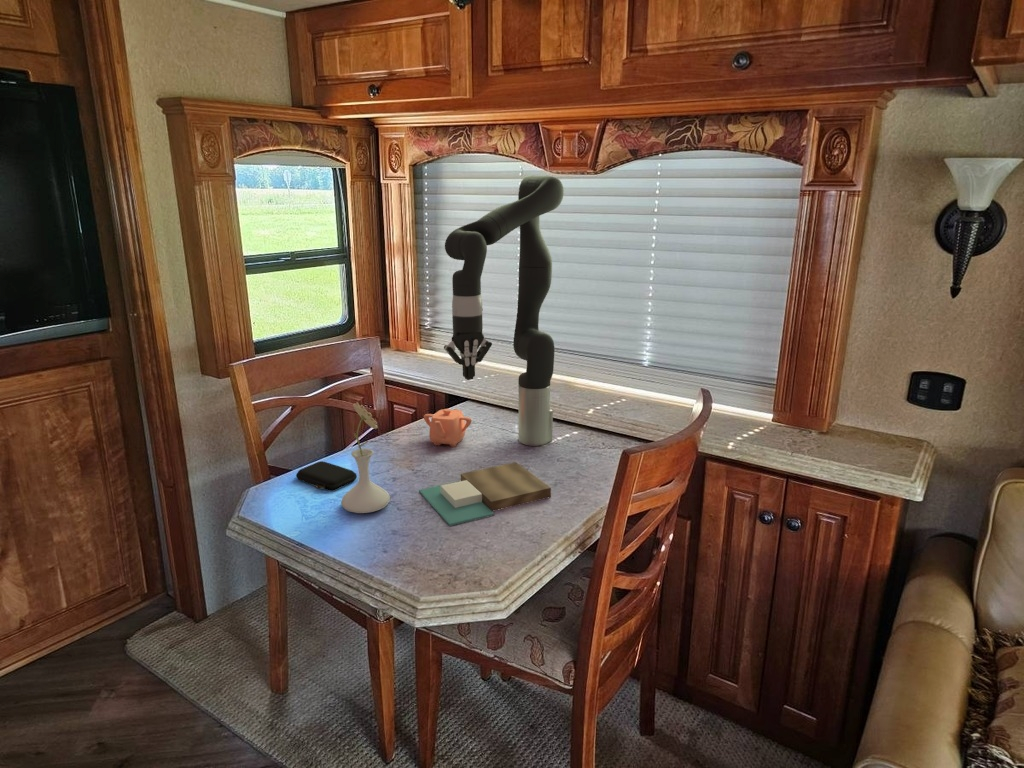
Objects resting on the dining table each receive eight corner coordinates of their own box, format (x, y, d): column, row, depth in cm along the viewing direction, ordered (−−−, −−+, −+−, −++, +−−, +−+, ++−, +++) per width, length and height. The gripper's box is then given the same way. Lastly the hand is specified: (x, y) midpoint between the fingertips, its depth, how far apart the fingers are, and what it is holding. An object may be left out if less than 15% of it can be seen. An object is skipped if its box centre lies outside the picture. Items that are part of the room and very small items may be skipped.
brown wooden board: (516, 470, 181) (516, 461, 181) (550, 497, 166) (550, 487, 165) (460, 482, 174) (460, 473, 174) (491, 511, 159) (491, 501, 158)
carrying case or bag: (289, 482, 176) (328, 496, 168) (288, 471, 175) (327, 485, 167) (322, 468, 184) (360, 481, 176) (321, 458, 183) (359, 470, 175)
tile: (466, 487, 170) (466, 479, 170) (482, 501, 163) (482, 493, 162) (440, 493, 167) (440, 485, 167) (455, 507, 160) (454, 500, 159)
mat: (459, 482, 174) (459, 481, 174) (494, 515, 157) (494, 513, 157) (418, 491, 169) (418, 489, 169) (449, 526, 152) (449, 524, 152)
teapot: (421, 437, 206) (420, 405, 203) (458, 431, 210) (457, 400, 208) (436, 453, 193) (435, 419, 190) (475, 447, 198) (474, 414, 195)
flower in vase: (393, 514, 158) (387, 411, 151) (342, 521, 155) (334, 416, 148) (386, 490, 170) (380, 395, 163) (339, 496, 167) (331, 399, 160)
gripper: (484, 308, 177) (485, 372, 182) (437, 312, 171) (439, 378, 176) (497, 312, 171) (498, 379, 176) (448, 317, 165) (450, 386, 170)
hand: (468, 378), depth 176 cm, fingers closed
